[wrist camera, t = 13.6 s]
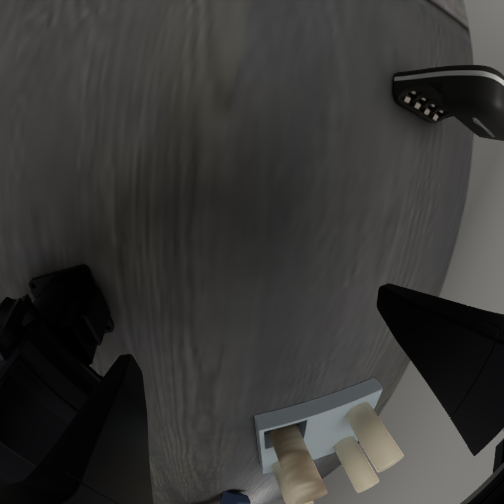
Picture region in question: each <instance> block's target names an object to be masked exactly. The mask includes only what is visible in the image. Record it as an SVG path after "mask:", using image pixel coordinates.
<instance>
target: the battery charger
mask: <svg viewBox="0 0 504 504" xmlns="http://www.w3.org/2000/svg"><path fill="white" fill-rule="evenodd" d="M394 82H395V83H394V96H395V99H396V101H397V103H398V104H400V105H401V106H403V107H404V108H406V109H408V110H409V111H411V112H413V113H414V114H416V115H418V116H419V117H421V118H423V119H424V120H426V121H428V122H430V123H437V122H439V121H441V120H443V119H445V118H448V117H452V116H455V117H456V118H457V119H458V120H460V121H461V122H462V123H463V124H464V125H466V126H467V127H468V128H469V129H470V130H471V131H473V132H474V133H475V134H476V135H478V136H479V137H483V138H489V139H495V140H501V141H504V76H503V75H502V74H501V73H500V72H499V71H497V70H495V69H493V68H491V67H487V66H481V65H456V66H444V67H435V68H428V69H422V70H415V71H407V72H398V73H396V76H395V77H394Z"/></svg>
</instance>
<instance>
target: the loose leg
mask: <svg viewBox="0 0 504 504" xmlns="http://www.w3.org/2000/svg"><path fill="white" fill-rule="evenodd" d="M268 433H269V436H270V439H271V442H272V444H273V447H274V450H275V453H276V455H277V458H278V461H279V463H280V466H281V469H282V471H283V474H284V477H285V479H286V482H287V485H288V487H289V490H290V492H291V495H292V497H293V500H294V502H295V504H303V503H307V502H310V501H313V500H315V499H318V498H320V497H322V496H324V495H325V494H327V490H326V488H325V486H324V484H323V481H322V479H321V477H320V475H319V473H318V471H317V468H316V466H315V464H314V462H313V460H312V458H311V455H310V453H309V451H308V449H307V446H306V444H305V442H304V440H303V438H302V435H301V433H300V431H299V429H298V426H297V424H296V423H295V424H291V425H287V426H284V427H280V428H276V429H272V430H268Z"/></svg>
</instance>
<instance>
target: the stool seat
mask: <svg viewBox="0 0 504 504" xmlns="http://www.w3.org/2000/svg"><path fill="white" fill-rule="evenodd" d="M382 390H383V388H382V387H381V385H380V384H379V383H378V381H377V380H376V379H375V377H374V378H371V379H369V380H367V381H364V382H362V383H359V384H357V385H354V386H351V387H349V388H346V389H343V390H340V391H338V392H335V393H332V394H329V395H326V396H323V397H320V398H317V399H314V400H311V401H307V402H304V403H301V404H297V405H294V406H290V407H287V408H283V409H279V410H275V411H271V412H267V413H263V414H259V415H254V419H255V428H256V436H257V445H258V453H259V461H260V465H261V468H262V471H263V474H266V473H270V472H274V474H275V477H276V480H277V482H278V485H279V488H280V490H281V493H282V496H283V498H284V501H285V504H295V502H294V500H293V497H292V495H291V492H290V490H289V487H288V485H287V482H286V479H285V477H284V474H283V471H282V469H281V466H280V463H279V461H278V458H277V455H276V453H275V450H274V447H273V444H272V442H271V439H270V436H269V434H266V435H264V431H268V430H272V429H276V428H280V427H284V426H287V425H291V424H295V423H298V422H299V425H298V429H299V431H300V433H301V435H302V438H303V440H304V442H305V444H306V446H307V449H308V451H309V453H310V455H311V458H312V460H314V459H317V458H320V457H323V456H326V455H329V454H331V453H334V452H336V454H337V456H338V458H339V459H340V461H341V463H342V465H343V467H344V469H345V471H346V473H347V475H348V476H349V478H350V480H351V482H352V484H353V486H354V488H355V490H356V492H357V493H360V492H362V491H365V490H367V489H369V488H371V487H372V486H374V485H376V484H377V483H378V482H379V479H378V477H377V476H376V474H375V472H374V470H373V469H372V467H371V465H370V464H369V462H368V460H367V458H366V457H365V455H364V453H363V452H362V450H361V448H360V446H359V445H358V443H357V442H358V440H359V442H360V444H361V445H362V447H363V449H364V450H365V452H366V453H367V456H368V457H369V459H370V461H371V462H372V464H373V465H374V467H375V469H376V471H377V472H381V471H384V470H386V469H387V468H389V467H391V466H392V465H394V464H395V463H397V462H398V461H399V460H401V459H402V458H403V457H404V455H403V453H402V452H401V450H400V449H399V447H398V446H397V444H396V443H395V441H394V440H393V438H392V437H391V435H390V434H389V432H388V431H387V429H386V428H385V426H384V425H383V423H382V422H381V421H380V419H379V417H378V416H377V414H376V413H375V411H374V408H375V405H376V403H377V401H378V399H379V397H380V394H381V392H382ZM303 504H314V502H313V501H310V502H307V503H303Z"/></svg>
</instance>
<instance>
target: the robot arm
mask: <svg viewBox="0 0 504 504" xmlns="http://www.w3.org/2000/svg"><path fill="white" fill-rule="evenodd" d="M81 270H84V271H85V273H83V272H82V271H81ZM33 283H34V284H35V286H34V285H33ZM29 287H30V289H31V291H32V293H33V295H34V297H35V301H34V302H33V303H32V302H31V301H32V300H31V298H30V297H29V296H28V294H26V295H25V296H23V297H22V298H19V299H17V300H16V299H15V300H14V299H11V298H9V297H6V298H5V299H4V300H3V301H2V302H1V303H0V504H154V503H153V495H152V486H151V475H150V463H149V447H148V423H147V408H146V400H145V392H144V383H143V375H142V371H141V369H140V367H139V366H138V364H137V362H136V361H135V359H134V357H133V356H132V355H131V354H126V355H121V356H119V357H118V359H117V360H116V361H115V363H114V364H113V365H112V367H111V368H110V369H109V370H108V372H107V373H106V374H105V376H104V377H103V376H100V375H99V374H97V373H96V372H95V371H94V370H93V369H92V368H91V367H90V366H89V365H90V364H92V362H93V358H94V355H95V351H96V348H97V346H99V345H101V343H102V340H103V336H104V333H109V332H112V331H113V330H114V323H113V321H112V319H111V317H110V311H109V309H108V307H107V305H106V302H105V300H104V298H103V296H102V294H101V291H100V289H99V288H98V287H96V284H95V282H94V280H93V277H92V275H91V272H90V270H89V268H88V267H87V266H86V265H79V266H75V267H72V268H68V269H65V270H61V271H58V272H54V273H51V274H47V275H44V276H40V277H37V278H33V279H32V280H31V281H30V282H29ZM377 308H378V311H379V312H380V314H381V316H382V317H383V319H384V321H385V322H386V324H387V326H388V327H389V329H390V331H391V332H392V334H393V336H394V337H395V339H396V340H397V342H398V343H399V345H400V346H401V347H402V349H403V350H404V351H405V353H406V354H407V356H408V357H409V358H410V360H411V361H412V362H413V364H414V365H415V367H416V368H417V369H418V371H419V372H420V374H421V375H422V377H423V378H424V379H425V381H426V382H427V384H428V385H429V387H430V388H431V390H432V391H433V393H434V394H435V396H436V397H437V399H438V400H439V402H440V403H441V405H442V406H443V408H444V409H445V411H446V412H447V414H448V415H449V417H451V418H450V419H451V420H452V422H453V423H454V425H455V426H456V428H457V430H458V431H459V433H460V435H461V436H462V438H463V439H464V441H465V443H466V444H467V446H468V448H469V449H470V451H471V453H472V454H473V455H474V456H475V455H477V454H478V453H479V452H480V451H481V450H482V449H483V448H484V447H485V446H486V445H487V444H488V443H489V442H490V441H491V440H492V439H493V438H494V437H495V436H496V435H497V434H498V433H499V432H500V431H501V430H502V429H503V431H504V314H499V313H494V312H490V311H485V310H482V309H478V308H474V307H471V306H467V305H464V304H460V303H457V302H453V301H450V300H446V299H443V298H439V297H436V296H432V295H429V294H425V293H422V292H418V291H415V290H411V289H407V288H404V287H400V286H397V285H393V284H389V283H388V284H385V285H382V286H380V287H379V290H378V298H377ZM107 326H110V327H107ZM461 504H504V439H503V440H502V441H501V442H500V443H499V444H498V445H497V446H496V451H495V460H494V468H493V474H492V475H491V476H490V477H489V478H488V479H487V480H486V481H485V482H484V483H483V484H482V485H481V486H480V487H479V488H478V489H477V490H476V491H474V492H473V493H472V494H471V495H470V496H469V497H468V498H467V499H465V500H464V501H463V502H462V503H461Z"/></svg>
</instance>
